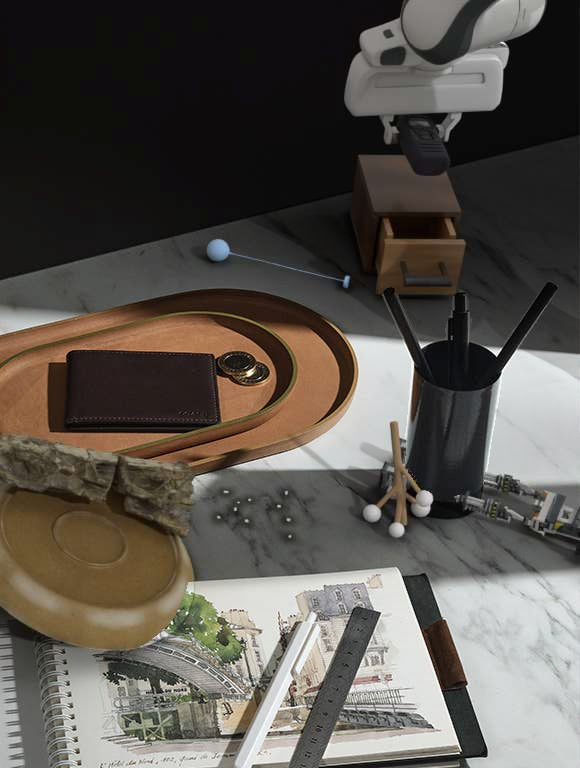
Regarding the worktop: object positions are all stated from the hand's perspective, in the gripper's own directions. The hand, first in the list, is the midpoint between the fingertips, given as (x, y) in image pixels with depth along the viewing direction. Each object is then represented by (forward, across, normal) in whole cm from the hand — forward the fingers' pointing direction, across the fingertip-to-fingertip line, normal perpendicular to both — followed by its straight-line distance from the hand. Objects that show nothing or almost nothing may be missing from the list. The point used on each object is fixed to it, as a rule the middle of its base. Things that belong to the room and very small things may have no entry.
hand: (415, 141), depth 170 cm
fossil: (+8, +49, +51) cm, 71 cm away
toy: (+14, +15, +48) cm, 52 cm away
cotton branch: (+6, +16, +50) cm, 53 cm away
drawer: (+15, +1, +9) cm, 18 cm away
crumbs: (+16, +30, +52) cm, 62 cm away
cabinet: (+16, 0, 0) cm, 16 cm away
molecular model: (+16, +19, +6) cm, 25 cm away
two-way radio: (0, 0, +8) cm, 8 cm away
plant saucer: (+9, +48, +61) cm, 78 cm away
